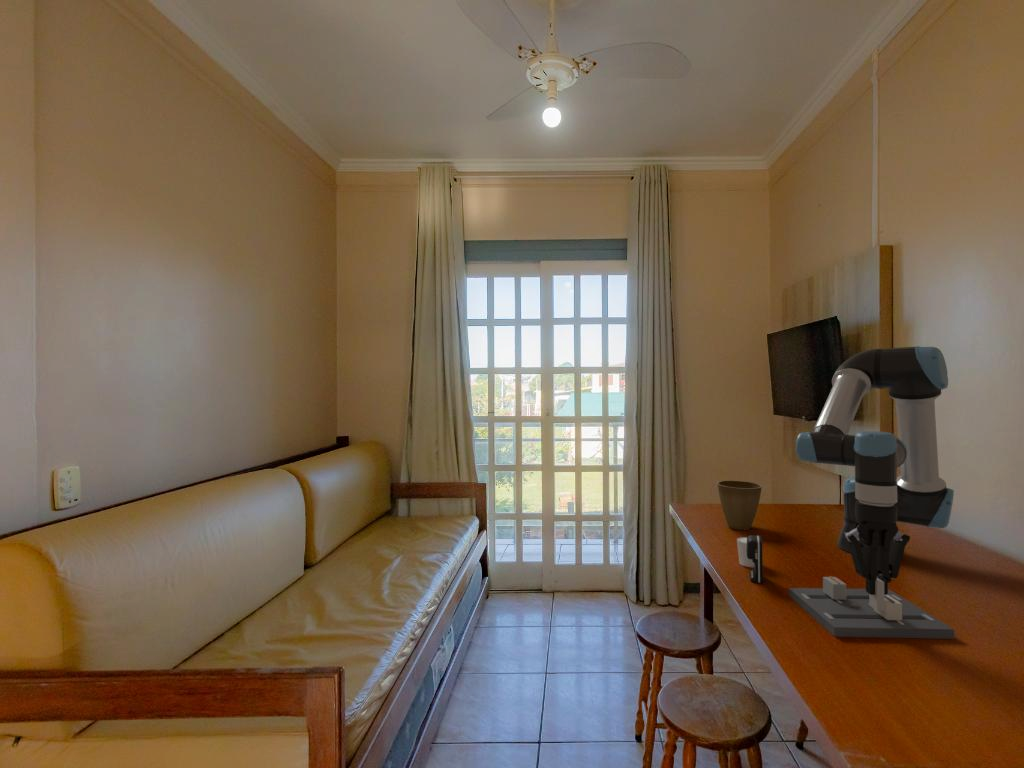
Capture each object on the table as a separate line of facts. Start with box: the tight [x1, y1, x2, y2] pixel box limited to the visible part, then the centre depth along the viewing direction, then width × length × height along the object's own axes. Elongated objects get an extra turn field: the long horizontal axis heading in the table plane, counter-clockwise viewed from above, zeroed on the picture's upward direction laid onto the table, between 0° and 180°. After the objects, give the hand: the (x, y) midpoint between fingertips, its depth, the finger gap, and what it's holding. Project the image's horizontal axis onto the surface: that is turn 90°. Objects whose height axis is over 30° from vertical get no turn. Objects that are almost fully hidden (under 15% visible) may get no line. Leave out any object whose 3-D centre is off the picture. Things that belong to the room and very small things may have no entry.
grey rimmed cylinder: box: [736, 536, 755, 568], centre depth 148 cm, size 7×7×7 cm
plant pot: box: [717, 480, 763, 531], centre depth 184 cm, size 15×15×16 cm
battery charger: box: [746, 534, 764, 584], centre depth 137 cm, size 7×4×11 cm, turn 156°
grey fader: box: [822, 575, 847, 600], centre depth 120 cm, size 3×4×4 cm
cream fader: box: [874, 595, 902, 620], centre depth 110 cm, size 3×4×4 cm
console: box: [788, 587, 955, 640], centre depth 115 cm, size 24×20×3 cm
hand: (876, 608), depth 110 cm, fingers closed
